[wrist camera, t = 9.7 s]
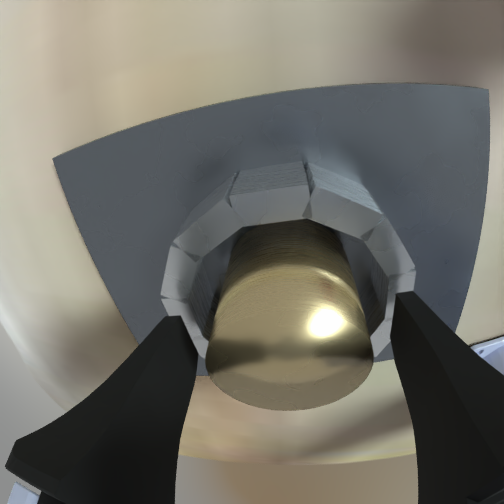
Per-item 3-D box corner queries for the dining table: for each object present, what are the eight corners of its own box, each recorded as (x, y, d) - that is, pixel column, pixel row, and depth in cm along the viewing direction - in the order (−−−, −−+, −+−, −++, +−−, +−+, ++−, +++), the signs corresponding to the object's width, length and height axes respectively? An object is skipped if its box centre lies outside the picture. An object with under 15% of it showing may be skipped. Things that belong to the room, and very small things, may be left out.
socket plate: (480, 87, 8) (528, 98, 6) (446, 340, 15) (462, 379, 13) (60, 154, 11) (15, 179, 9) (160, 367, 18) (147, 406, 16)
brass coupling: (347, 211, 11) (384, 300, 7) (346, 310, 14) (364, 403, 9) (217, 225, 12) (182, 316, 8) (240, 319, 14) (226, 411, 10)
